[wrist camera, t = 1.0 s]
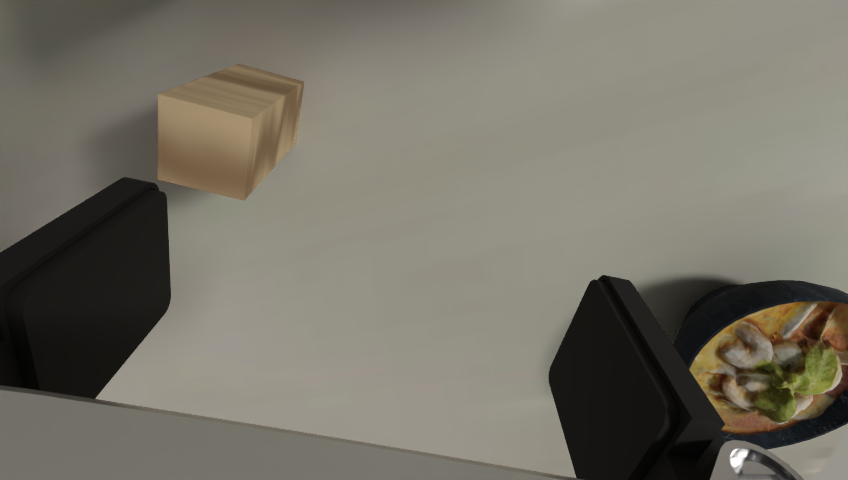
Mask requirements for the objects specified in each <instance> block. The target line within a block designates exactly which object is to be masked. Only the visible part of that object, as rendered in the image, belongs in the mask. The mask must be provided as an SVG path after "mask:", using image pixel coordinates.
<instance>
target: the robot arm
mask: <svg viewBox="0 0 848 480" xmlns="http://www.w3.org/2000/svg"><path fill="white" fill-rule="evenodd" d="M170 300H171V287H170V263H169V239H168V215H167V198H166V195H165V193H164V192H161V191H159V189H158V186H157V185H156V184H155V183H151V182H146V181H141V180H136V179H131V178H126V177H124V178H121V179H120V180H118V181H116V182H115V183H113V184H111V185H110V186H108V187H107V188H105V189H103V190H102V191H100V192H98V193H97V194H95V195H94V196H92V197H90V198H89V199H87V200H85V201H84V202H82V203H80V204H79V205H77V206H76V207H74V208H72V209H71V210H69V211H67V212H66V213H64V214H63V215H61V216H59V217H58V218H56V219H54V220H53V221H51V222H50V223H48V224H46V225H45V226H43V227H41V228H40V229H38V230H37V231H35V232H33V233H32V234H30V235H28V236H27V237H25V238H24V239H22V240H20V241H19V242H17V243H15V244H14V245H12V246H11V247H9V248H7V249H6V250H4V251H2V252H1V253H0V480H804V479H803V478H802V477H801V476H800V475H799V474H798V473H797V472H796V471H795V470H794V469H793V468H791V467H790V466H789V465H788V464H787V463H786V462H784V461H783V460H781V459H780V458H779V457H777V456H776V455H774V454H773V453H771V452H769V451H767V450H765V449H764V448H762V447H760V446H758V445H755V444H752V443H749V442H746V441H739V440H732V441H728V442H724V440H723V439H722V437H721V436H720V434H719V432H720V431H721V429H722V428H723V427H724V425H725V423H724V421H723V420H722V418H721V417H720V415H719V414H718V412H717V411H716V409H715V408H714V406H713V405H712V403H711V402H710V400H709V399H708V397H707V396H706V394H705V393H704V391H703V390H702V388H701V387H700V385H699V384H698V382H697V381H696V379H695V378H694V376H693V375H692V373H691V372H690V370H689V369H688V367H687V366H686V364H685V363H684V361H683V360H682V358H681V357H680V355H679V354H678V352H677V350H676V349H675V347H674V346H673V344H672V343H671V341H670V340H669V338H668V337H667V335H666V334H665V332H664V331H663V329H662V328H661V326H660V325H659V323H658V322H657V320H656V319H655V317H654V316H653V314H652V313H651V311H650V310H649V308H648V307H647V305H646V304H645V302H644V301H643V299H642V298H641V296H640V295H639V293H638V292H637V290H636V289H635V287H634V286H633V284H632V283H631V282H630V281H629V280H625V279H620V278H616V277H611V276H606V275H603V276H601V277H600V278H599V279H598V280H592V281H591V282H590V283H589V285H588V287H587V289H586V291H585V294H584V296H583V298H582V300H581V302H580V304H579V307H578V309H577V311H576V313H575V315H574V317H573V319H572V322H571V324H570V326H569V328H568V330H567V332H566V335H565V337H564V339H563V341H562V343H561V345H560V347H559V350H558V352H557V354H556V356H555V358H554V360H553V363H552V365H551V367H550V371H549V384H550V387H551V391H552V394H553V398H554V401H555V405H556V408H557V412H558V415H559V419H560V422H561V425H562V429H563V432H564V436H565V439H566V443H567V446H568V450H569V453H570V457H571V460H572V464H573V467H574V471H575V474H576V477H577V478H571V477H566V476H560V475H554V474H548V473H542V472H536V471H530V470H525V469H519V468H513V467H507V466H501V465H495V464H490V463H484V462H478V461H472V460H466V459H460V458H454V457H449V456H443V455H437V454H431V453H425V452H419V451H413V450H407V449H401V448H395V447H389V446H383V445H377V444H371V443H365V442H359V441H352V440H346V439H340V438H334V437H328V436H322V435H316V434H310V433H304V432H298V431H292V430H285V429H279V428H273V427H267V426H261V425H255V424H249V423H242V422H236V421H230V420H223V419H217V418H211V417H205V416H198V415H192V414H186V413H179V412H173V411H167V410H161V409H154V408H148V407H142V406H135V405H129V404H123V403H117V402H110V401H104V400H98V399H95V398H96V397H97V395H98V394H99V393H100V392H101V391H102V389H103V388H104V387H105V386H106V384H107V383H108V382H109V381H110V380H111V378H112V377H113V376H114V375H115V374H116V372H117V371H118V370H119V369H120V367H121V366H122V365H123V364H124V363H125V361H126V360H127V359H128V358H129V357H130V355H131V354H132V353H133V352H134V350H135V349H136V348H137V347H138V346H139V344H140V343H141V342H142V341H143V340H144V338H145V337H146V336H147V335H148V333H149V332H150V331H151V330H152V329H153V327H154V326H155V325H156V324H157V323H158V321H159V320H160V319H161V318H162V316H163V315H164V314H165V313H166V311H167V309H168V307H169V304H170Z"/></svg>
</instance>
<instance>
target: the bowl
mask: <svg viewBox="0 0 848 480" xmlns="http://www.w3.org/2000/svg"><path fill="white" fill-rule="evenodd" d="M673 346H674V347H675V349H676V350H677V352H678V354H679V355H680V357H681V358H682V360H683V361H684V363H685V364H686V366H687V367H688V369H689V370H690V372H691V373H692V375H693V376H694V378H695V379H696V381H697V382H698V384H699V385H700V387H701V388H702V390H703V391H704V393H705V394H706V396H707V397H708V399H709V400H710V402H711V403H712V405H713V406H714V408H715V409H716V411H717V412H718V414H719V415H720V417H721V418H722V420H723V421H724V423H725V425H724V427H723V428H722V429H721V431H720V432H719V434H720V436H721V437H722V439H723V440H724V442H728V441H732V440H739V441H746V442H749V443H752V444H755V445H758V446H760V447H762V448H764V449H765V450H767V449H772V448H777V447H782V446H787V445H792V444H796V443H799V442H803V441H806V440H810V439H813V438H815V437H818V436H821V435H823V434H826V433H828V432H830V431H833V430H835V429H837V428H839V427H841V426H843V425H845V424H847V423H848V294H847V293H845V292H842V291H840V290H838V289H834V288H830V287H826V286H821V285H817V284H812V283H808V282H803V281H793V280H777V281H766V282H757V283H750V284H746V285H731V286H727V287H723V288H720V289H717V290H715V291H712V292H710V293H709V294H707V295H706V296H704V297H703V298H701V299H700V300H698V302H697V303H696V304H695V305H694V306H693V307H692V308H691V309H690V311H689V312H688V314H687V316H686V317H685V321H684V324H683V326H682V327H681V329H680V331H679V333H678V335H677V338H676V340H675V342H674V344H673Z"/></svg>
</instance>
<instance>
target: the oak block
mask: <svg viewBox="0 0 848 480" xmlns="http://www.w3.org/2000/svg"><path fill="white" fill-rule="evenodd" d="M303 86H304V82H302V81H299V80H295V79H291V78H288V77H284V76H280V75H277V74H273V73H270V72H266V71H262V70H259V69H255V68H251V67H248V66H244V65H240V64H237V65H235V66H232V67H229V68H227V69H224V70H221V71H219V72H216V73H213V74H211V75H208V76H205V77H203V78H200V79H197V80H195V81H192V82H189V83H187V84H184V85H181V86H178V87H176V88H173V89H170V90H168V91H165V92H162V93H160V94H158V175H157V180H162V181H166V182H170V183H174V184H178V185H182V186H186V187H190V188H195V189H199V190H203V191H207V192H211V193H215V194H219V195H223V196H227V197H232V198H236V199H240V200H245V199H246V198H247V197H248V196H249V194H250V193H251V192H252V191H253V190H254V189H255V188H256V187H257V186H258V184H259V183H260V182H261V181H262V180H263V179H264V178H265V177H266V176H267V174H268V173H269V172H270V171H271V170H272V169H273V168H274V167H275V165H276V164H277V163H278V162H279V161H280V160H281V159H282V158H283V157H284V155H285V154H286V153H287V152H288V151H289V150H290V149H291V148H292V146H293V145H294V144H295V142H296V135H297V128H298V121H299V114H300V107H301V100H302V93H303Z"/></svg>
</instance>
